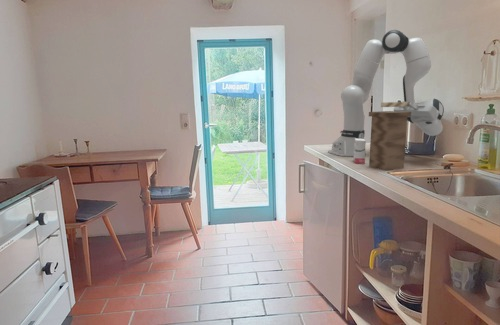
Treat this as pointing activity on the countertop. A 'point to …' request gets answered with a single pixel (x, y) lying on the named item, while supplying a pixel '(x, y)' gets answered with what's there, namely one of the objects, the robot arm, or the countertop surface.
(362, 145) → the ink box
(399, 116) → the wooden canister
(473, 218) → the countertop surface
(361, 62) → the robot arm
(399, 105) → the stick
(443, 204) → the countertop surface
